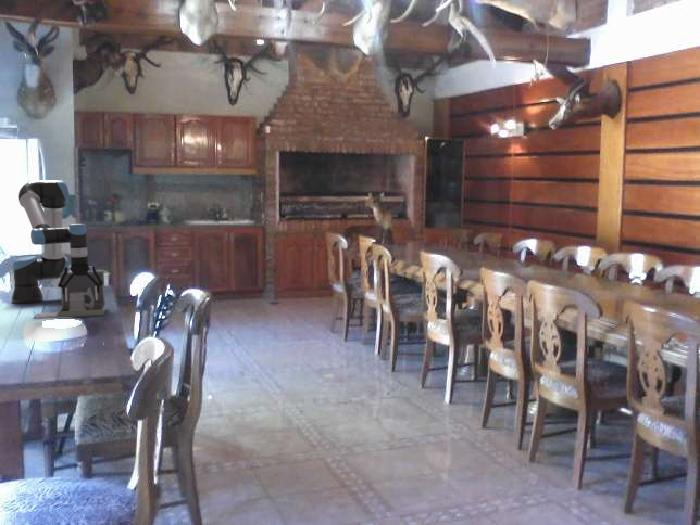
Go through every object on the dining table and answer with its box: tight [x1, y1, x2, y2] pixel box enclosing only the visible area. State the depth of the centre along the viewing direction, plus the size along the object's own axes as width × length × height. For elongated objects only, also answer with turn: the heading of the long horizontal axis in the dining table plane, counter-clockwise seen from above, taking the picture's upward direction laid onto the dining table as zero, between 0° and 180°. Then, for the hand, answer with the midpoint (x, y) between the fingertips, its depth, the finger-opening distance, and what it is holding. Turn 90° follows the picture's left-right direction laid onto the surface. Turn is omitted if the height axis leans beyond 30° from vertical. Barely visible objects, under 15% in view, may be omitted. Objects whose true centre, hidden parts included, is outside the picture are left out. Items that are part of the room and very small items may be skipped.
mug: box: [69, 287, 95, 311], centre depth 356 cm, size 8×12×12 cm, turn 119°
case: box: [57, 270, 106, 318], centre depth 356 cm, size 19×20×19 cm
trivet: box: [33, 311, 58, 319], centre depth 352 cm, size 10×10×1 cm
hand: (81, 300), depth 356 cm, fingers open, 13 cm apart
